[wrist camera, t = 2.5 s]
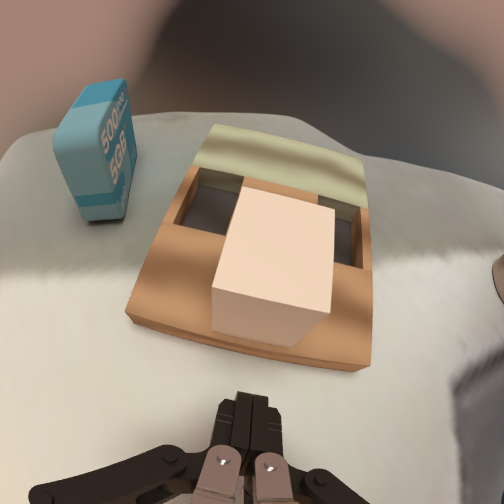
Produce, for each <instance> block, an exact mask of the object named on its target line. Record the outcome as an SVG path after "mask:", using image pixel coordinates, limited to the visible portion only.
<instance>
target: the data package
mask: <svg viewBox="0 0 504 504" xmlns="http://www.w3.org/2000/svg"><path fill="white" fill-rule="evenodd" d="M53 150H54V154H55V157H56V159H57V162H58V164H59V167H60V169H61V171H62V174H63V176H64V178H65V181H66V183H67V185H68V187H69V189H70V192H71V194H72V196H73V198H74V200H75V202H76V204H77V206H78V208H79V210H80V212H81V214H82V216H83V218H84V220H86V221H97V220H109V219H121V218H123V217H124V215H125V212H126V206H127V201H128V195H129V190H130V185H131V180H132V175H133V171H134V166H135V162H136V143H135V137H134V131H133V125H132V118H131V111H130V105H129V97H128V89H127V83H126V81H125V80H124V79H117V80H111V81H105V82H100V83H95V84H90V85H87V86H86V87H85V89H84V90H83V92H82V93H81V94H80V96H79V97H78V98H77V100H76V101H75V102H74V104H73V105H72V107H71V108H70V110H69V111H68V113H67V114H66V116H65V117H64V119H63V120H62V122H61V123H60V125H59V127H58V128H57V130H56V132H55V134H54V138H53Z"/></svg>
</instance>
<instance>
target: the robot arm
mask: <svg viewBox="0 0 504 504" xmlns="http://www.w3.org/2000/svg"><path fill="white" fill-rule="evenodd" d="M493 277H494V282H495V285H496V288H497V291H498V293H499V295H500V297H501V299H502V300H503V302H504V255H502V256H501V257H500V258H499V259H498V260H496V261H495V263H494V265H493ZM238 475H239V476H244V484H243V485H242V488H241V504H370V503H368V502H367V501H366V500H364V499H363V498H362V497H360V496H359V495H358V494H357V493H355V492H354V491H353V490H351V489H350V488H349V487H348V486H346V485H345V484H344V483H343V482H342V481H340V480H339V479H338V478H337V477H335V476H334V475H333V474H332V473H331V472H329V471H327V470H325V469H313V470H311V471H309V472H305V471H302V470H299V469H296V468H294V467H292V466H290V465H289V464H288V463H287V461H286V460H285V459H284V457H283V444H282V426H281V415H280V413H279V412H278V410H277V408H272V407H268V397H266V396H260V395H255V394H253V395H252V394H249V393H244V392H239V391H237V394H236V397H235V401H233V400H229V399H224V400H223V401H222V402H221V403H220V404H219V407H218V411H217V415H216V419H215V423H214V428H213V432H212V437H211V442H210V446H209V447H208V448H207V449H206V450H204V451H202V452H199V453H185V452H184V451H183V450H182V449H180V448H179V447H177V446H173V445H161V446H159V447H156V448H154V449H152V450H149V451H147V452H144V453H142V454H139V455H137V456H134V457H132V458H129V459H126V460H124V461H121V462H118V463H115V464H113V465H110V466H107V467H104V468H101V469H98V470H94V471H91V472H88V473H85V474H81V475H78V476H74V477H70V478H66V479H62V480H58V481H54V482H50V483H45V484H40V485H36V486H34V487H33V488H31V490H30V491H29V494H28V498H29V502H30V504H163V503H165V502H167V501H169V500H171V499H173V498H175V497H176V496H178V495H180V494H192V493H193V496H192V498H191V501H190V504H234V502H235V498H234V494H235V489H236V484H237V480H238Z"/></svg>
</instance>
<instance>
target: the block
mask: <svg viewBox="0 0 504 504" xmlns="http://www.w3.org/2000/svg"><path fill="white" fill-rule="evenodd" d="M334 230H335V209H331V208H327V207H324V206H320V205H316V204H313V203H309V202H305V201H301V200H297V199H294V198H290V197H286V196H282V195H278V194H274V193H269V192H265V191H261V190H257V189H252V188H248V187H244V186H242V189H241V192H240V196H239V199H238V202H237V205H236V208H235V211H234V215H233V218H232V221H231V224H230V227H229V231H228V234H227V237H226V240H225V244H224V247H223V250H222V254H221V257H220V260H219V264H218V267H217V270H216V274H215V277H214V281H213V284H212V331H214V332H218V333H222V334H226V335H230V336H234V337H239V338H243V339H248V340H252V341H257V342H261V343H266V344H271V345H276V346H281V347H286V348H291V347H292V346H294V345H295V344H296V343H297V342H298V341H300V340H301V339H302V338H303V337H304V336H305V335H306V334H308V333H309V332H310V331H311V330H312V329H313V328H314V327H316V326H317V325H318V324H319V323H320V322H321V321H322V320H323V319H324V318H325V317H327V316H328V315H329V314H330V308H331V295H332V280H333V260H334Z"/></svg>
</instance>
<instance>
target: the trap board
mask: <svg viewBox="0 0 504 504" xmlns="http://www.w3.org/2000/svg"><path fill="white" fill-rule="evenodd" d="M242 186H244V187H248V188H252V189H257V190H261V191H265V192H269V193H274V194H278V195H282V196H286V197H290V198H294V199H297V200H301V201H305V202H309V203H313V204H316V205H320V206H324V207H327V208H331V209H335V230H334V260H333V280H332V295H331V308H330V314H329V315H328V316H327V317H325V318H324V319H323V320H322V321H321V322H320V323H319V324H318V325H317V326H316V327H314V328H313V329H312V330H311V331H310V332H309V333H308V334H306V335H305V336H304V337H303V338H302V339H301V340H300V341H298V342H297V343H296V344H295V345H294V346H292V347H291V348H286V347H281V346H276V345H271V344H266V343H261V342H257V341H252V340H248V339H243V338H239V337H234V336H230V335H226V334H222V333H218V332H214V331H212V284H213V281H214V277H215V274H216V270H217V267H218V264H219V260H220V257H221V254H222V250H223V247H224V244H225V240H226V237H227V234H228V231H229V227H230V224H231V221H232V218H233V215H234V211H235V208H236V205H237V202H238V199H239V196H240V192H241V189H242ZM125 313H126V314H127V315H128V316H129V318H130V319H131V320H132V321H133V322H134V323H135V324H138V325H142V326H145V327H148V328H151V329H154V330H157V331H160V332H164V333H167V334H170V335H174V336H177V337H181V338H184V339H188V340H192V341H195V342H199V343H203V344H207V345H210V346H214V347H218V348H223V349H227V350H231V351H235V352H240V353H244V354H249V355H253V356H258V357H263V358H268V359H273V360H279V361H284V362H290V363H295V364H301V365H307V366H314V367H321V368H328V369H335V370H343V371H351V372H355V371H358V370H361V369H363V368H366V367H369V366H370V362H371V346H372V317H373V283H372V254H371V237H370V224H369V212H368V202H367V193H366V185H365V177H364V170H363V163H362V160H359V159H356V158H353V157H350V156H347V155H344V154H341V153H337V152H334V151H331V150H327V149H324V148H321V147H317V146H314V145H310V144H306V143H303V142H299V141H295V140H291V139H287V138H283V137H279V136H274V135H270V134H266V133H261V132H257V131H252V130H247V129H242V128H237V127H231V126H226V125H220V124H214V126H213V127H212V129H211V131H210V132H209V134H208V136H207V137H206V139H205V141H204V143H203V144H202V146H201V148H200V150H199V152H198V153H197V155H196V157H195V159H194V161H193V162H192V164H191V166H190V168H189V170H188V172H187V174H186V176H185V177H184V179H183V181H182V183H181V185H180V187H179V189H178V191H177V193H176V195H175V197H174V199H173V201H172V203H171V205H170V207H169V209H168V211H167V213H166V215H165V217H164V219H163V222H162V224H161V226H160V228H159V230H158V232H157V234H156V237H155V239H154V241H153V243H152V246H151V248H150V250H149V252H148V255H147V257H146V259H145V262H144V264H143V266H142V269H141V271H140V273H139V276H138V278H137V281H136V283H135V286H134V288H133V291H132V293H131V296H130V298H129V301H128V304H127V306H126V309H125Z"/></svg>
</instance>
